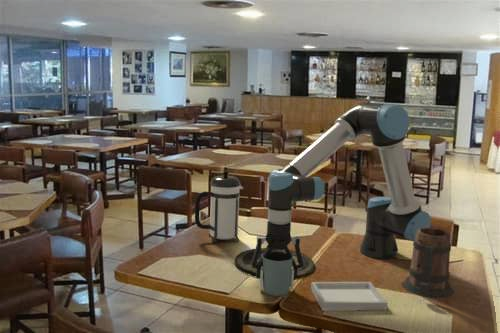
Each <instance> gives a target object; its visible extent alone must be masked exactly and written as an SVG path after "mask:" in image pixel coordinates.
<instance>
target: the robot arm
mask: <svg viewBox="0 0 500 333" xmlns="http://www.w3.org/2000/svg"><path fill="white" fill-rule="evenodd" d="M410 125H411V120H410V116H409V114H408V112H407V111H406V109H405V108H403V107H401V106H400V105H397V104H393V103H376V102H362V103H359V104H357V105H355V106H353V107H351V108H349V109H347V111H345V112H344V113H342V114H341V115H340V116H339V117H337V119H335V121H334V124H333V126H331V127H330V128H329V129H328V130H327V131H325V132H324V133H323V134H321V136H320V137H319V138H318V139H316V140H315V141H314V142H313V143H311V144H310V145H309V146H308V147H307V148H306V149H304V150H303V151H302V152H301V153H300V154H299V155H297V156H296V157H295V158H294V159H292V161H291V162H289V163H288V164H287V165H285V167H283V168H282V169H281V168H276V169H273V170H272V171H271V172H270V173H269V175H268V198H267V199H268V200H267V201H268V202H267V204H268V205H267V206H268V207H267V223H266V225H267V226H266V234H265V236H257V237H256V245H255V248H254V249H255V252H254V255H253V258H252V262H251V265H252V267H253V268H256V276H257V277H256V278H257V279H258V286H259V290H263V269H262V266H263V259H262V256H263V257H264V258H266V259H267V257H268V256H269V254H270V253H271V252H272V250H278V249H279V250H283V249H285V251H286V253H287V255H288V257H289V259H291V258H292V255H291V253H290V251H289V250H290V249H289V247H288V245H289V244H290V243H292V244H293V245H294V246H293V247H294V251H296V255H297V260H298V263H295V261H294V259H293V260H292V265H293V267H292V268H291V279H290V290H294V280H295V279H294V278H296V279H298V278H297V270H298V268H300V267H301V268H302V267H303V262H302V257H301V253H302V252H301V249H300V243H301V242H300V241H301V239H300V238H299V236H295V237H293V236H291V229H292V228H291V227H292V226H291V225H292V222H291V221H292V210H293V209H292V208H293V207H292V206H293V203H295V202H307V201H316V200H319V199H321V198H322V197H323V196H324V195H325V186H326V185H325V183H324V181H323V179H322V178H321V177H319V176H309V175H310V174H312V172H314V171H315V170H316V169H317V168H318V167H319V166H321V164H323V162H325V161H326V160H327V159H329V158H330V157H331V156H332V155H334V153H335V152H337V150H338V149H340V148H341V147H342V146H343V145H344V144H346V143H347V142H348V141H353V140H355V138H357V137H358V136H361V135H367V136H370V138H371V143H372V145H373V146H374V147H376V148H377V149H378V152H379V157H380V161H381V165H382V168H383V174H384V177H385V182H386V185H387V189H388V194H389V196H375V197H371V198H369V199H368V202H367V207H366V218H365V220H366V221H365V222H366V223H365V233H364V235H363V237H362V240H361V243H360V245H359V252H360V253H361V254H362V255H364V256H367V257H370V258H374V259H383V260H385V259H387V260H389V259H394V258H397V257H398V254H399V249H398V243H397V240H396V236H398V237H400V238H403V239H406V240H411V241H414V239H415V237H416V233H417V230H418V229H419V228H431V223H432V222H431V216H430V214H429V213H428V212H427V211H425V210H424V211H423V209H422V205H421V202H420V199H418V198H415V193H414V189H413V184H412V179H411V175H410V171H409V166H408V161H407V157H406V151H405V148H404V144H403V142H405V140H406V135H407V134H408V133H409V131H410V129H409V128H410V127H411V126H410ZM308 176H309V177H308ZM265 242H266V243H267V246H266V247H265V248H266V250H265V251H264V253H263V255H262V256H261V258H260V260H259V261H258V263H257V260H258V257H259V253H260V250H261V248H262V246H263V245H264V244H265Z"/></svg>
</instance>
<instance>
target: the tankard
mask: <svg viewBox="0 0 500 333" xmlns="http://www.w3.org/2000/svg"><path fill="white" fill-rule="evenodd" d="M450 238H451V237H450V232H448V231H444V230H442V229H440V228H434V227H429V228H419V229H418V230H417V233H416V237H415V239H414V240H413V244H412V246H413V247H412V255H411V262H410V266H409V271H408V272H409V275H408V276H407V277H406V278H405V280H404V281H402V283H401V286H402V288H403V289H404V290H405V291H407V292H409V293H411V294H413V295H416V296H418V297H419V296H420V297H422V298H428V299H447V298H450V297H451V298H452V296H454V294H455V292H454V289H453V288H452V286H451V284H450V283H449V279H450V255H451V251H452V244H451V239H450Z"/></svg>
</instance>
